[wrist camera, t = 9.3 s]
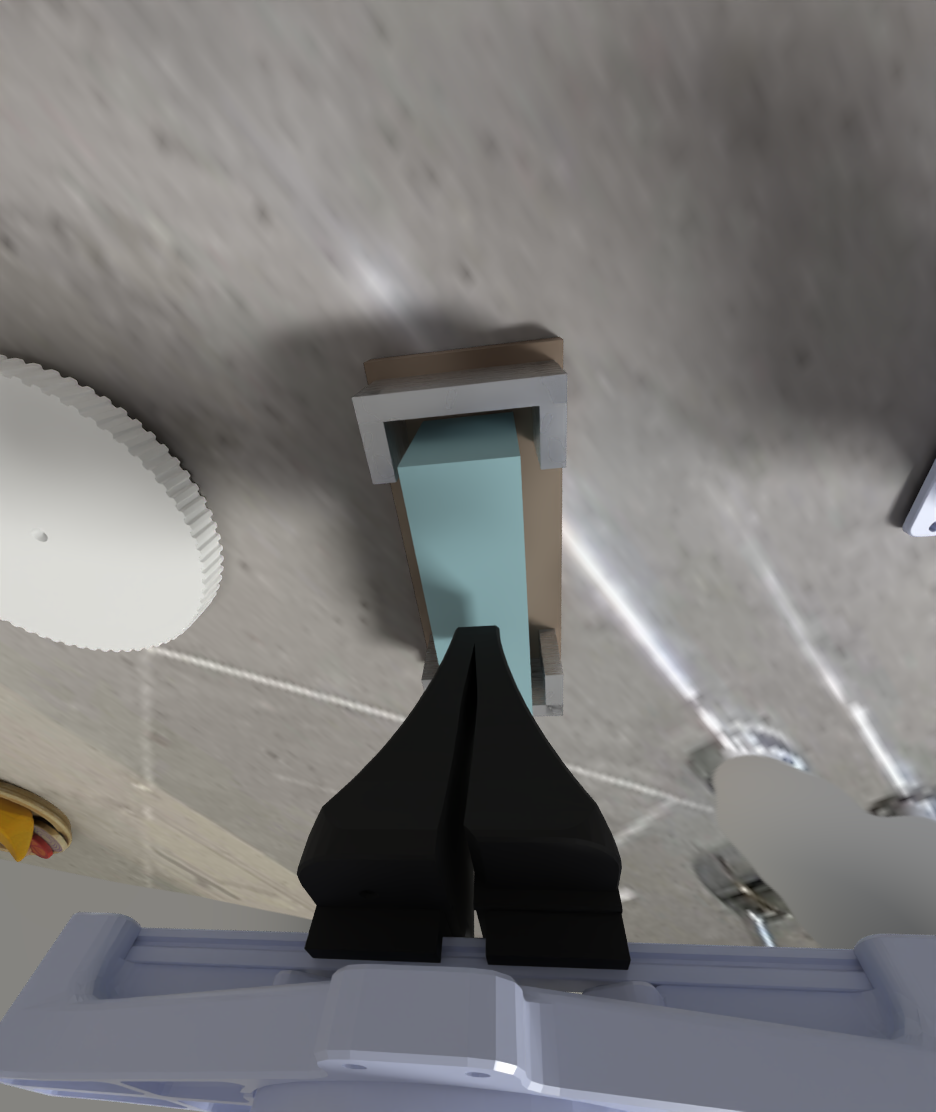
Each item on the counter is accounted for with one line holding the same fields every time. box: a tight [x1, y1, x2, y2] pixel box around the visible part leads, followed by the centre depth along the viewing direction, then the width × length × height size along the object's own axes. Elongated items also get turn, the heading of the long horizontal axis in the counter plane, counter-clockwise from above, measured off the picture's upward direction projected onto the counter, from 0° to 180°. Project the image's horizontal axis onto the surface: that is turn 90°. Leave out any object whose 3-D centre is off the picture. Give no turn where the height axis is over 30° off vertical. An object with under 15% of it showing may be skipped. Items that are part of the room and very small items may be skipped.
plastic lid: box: [0, 355, 224, 652], centre depth 19 cm, size 14×14×2 cm
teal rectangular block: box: [397, 412, 533, 716], centre depth 17 cm, size 3×12×5 cm, turn 7°
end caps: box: [352, 360, 567, 716], centre depth 17 cm, size 6×15×3 cm, turn 6°
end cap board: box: [363, 337, 563, 659], centre depth 19 cm, size 7×16×1 cm, turn 7°
